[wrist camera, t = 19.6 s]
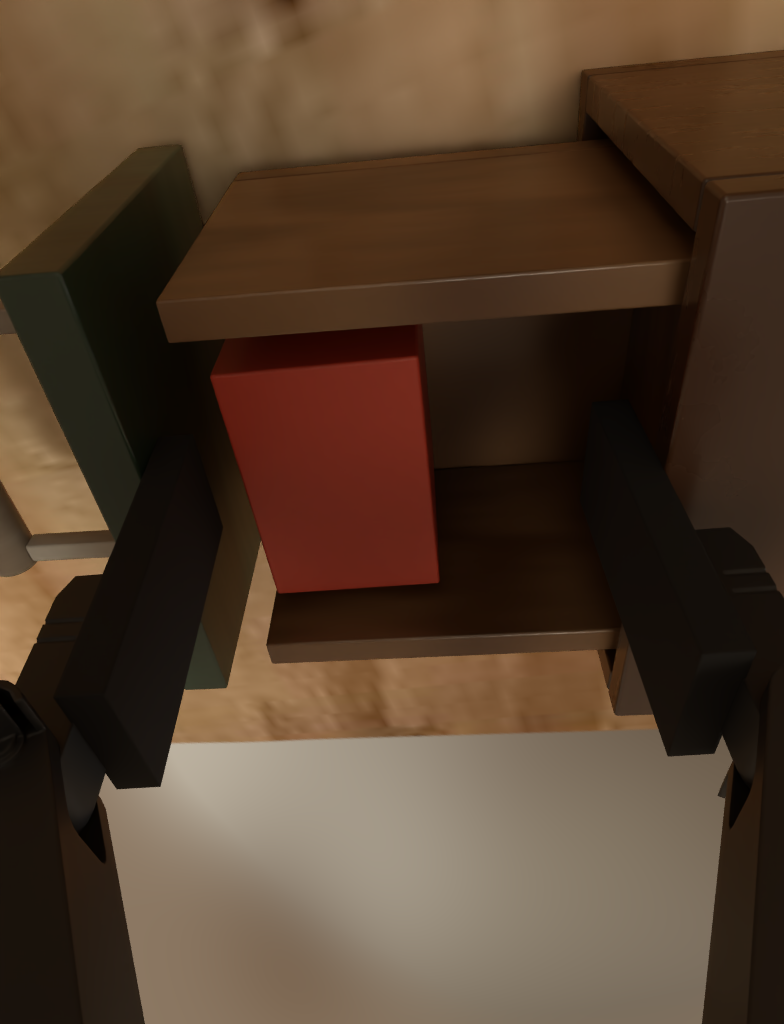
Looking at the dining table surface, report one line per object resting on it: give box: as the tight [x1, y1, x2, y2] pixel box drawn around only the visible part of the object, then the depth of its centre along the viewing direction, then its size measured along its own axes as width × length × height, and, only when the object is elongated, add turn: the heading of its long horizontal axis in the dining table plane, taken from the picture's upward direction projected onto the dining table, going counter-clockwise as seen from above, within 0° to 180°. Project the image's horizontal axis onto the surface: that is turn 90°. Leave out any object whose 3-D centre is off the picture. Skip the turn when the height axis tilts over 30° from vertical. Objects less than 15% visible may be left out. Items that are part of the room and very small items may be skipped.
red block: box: [210, 324, 440, 594], centre depth 18 cm, size 6×4×6 cm, turn 6°
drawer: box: [0, 139, 696, 690], centre depth 18 cm, size 20×11×8 cm, turn 95°
